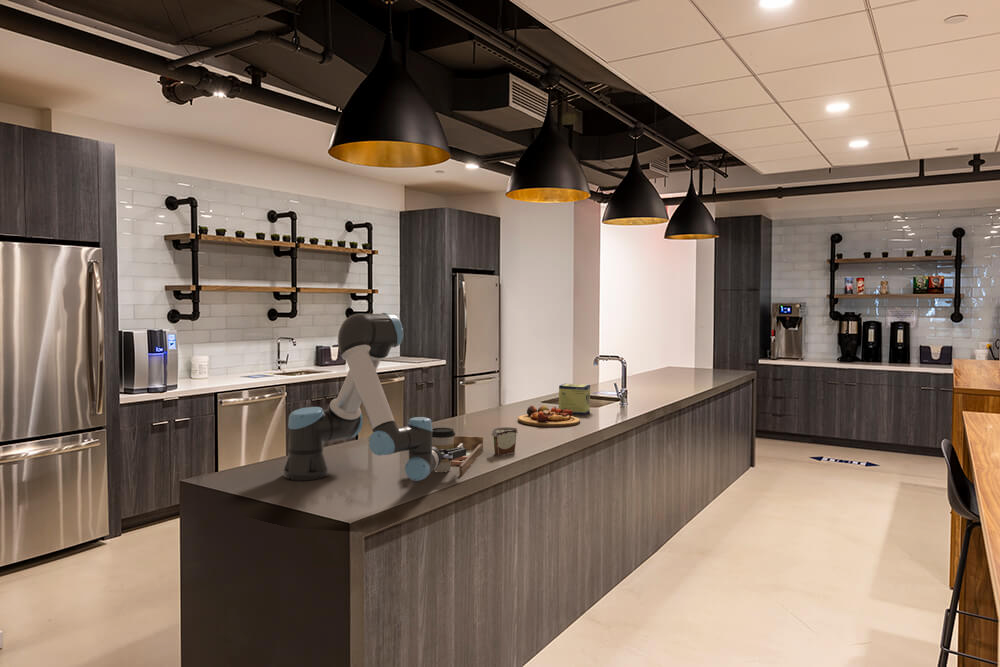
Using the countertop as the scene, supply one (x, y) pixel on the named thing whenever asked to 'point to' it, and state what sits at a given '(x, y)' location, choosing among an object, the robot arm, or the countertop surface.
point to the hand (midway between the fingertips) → (443, 446)
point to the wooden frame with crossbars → (467, 451)
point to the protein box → (575, 398)
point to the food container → (504, 440)
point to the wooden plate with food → (548, 417)
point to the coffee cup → (443, 445)
